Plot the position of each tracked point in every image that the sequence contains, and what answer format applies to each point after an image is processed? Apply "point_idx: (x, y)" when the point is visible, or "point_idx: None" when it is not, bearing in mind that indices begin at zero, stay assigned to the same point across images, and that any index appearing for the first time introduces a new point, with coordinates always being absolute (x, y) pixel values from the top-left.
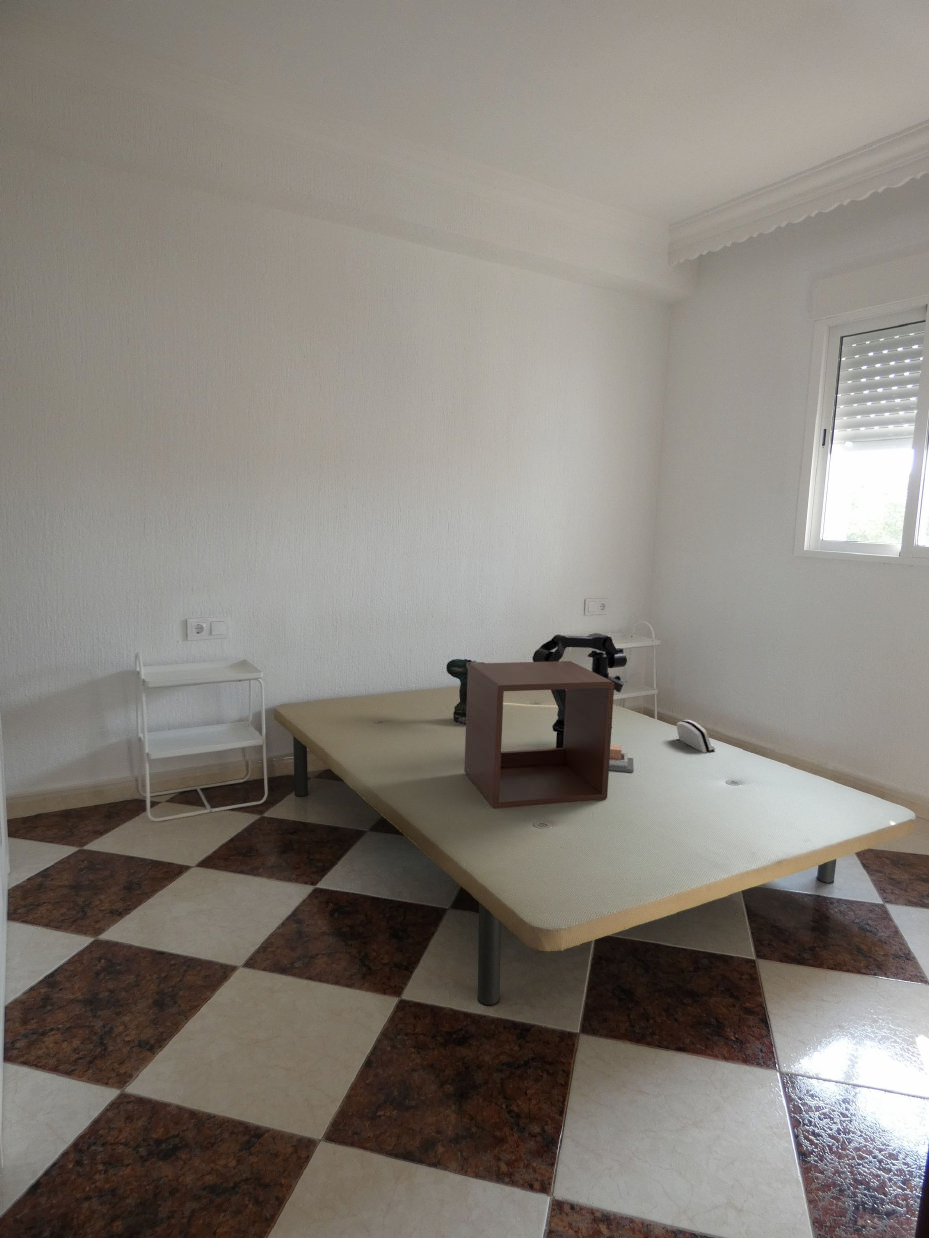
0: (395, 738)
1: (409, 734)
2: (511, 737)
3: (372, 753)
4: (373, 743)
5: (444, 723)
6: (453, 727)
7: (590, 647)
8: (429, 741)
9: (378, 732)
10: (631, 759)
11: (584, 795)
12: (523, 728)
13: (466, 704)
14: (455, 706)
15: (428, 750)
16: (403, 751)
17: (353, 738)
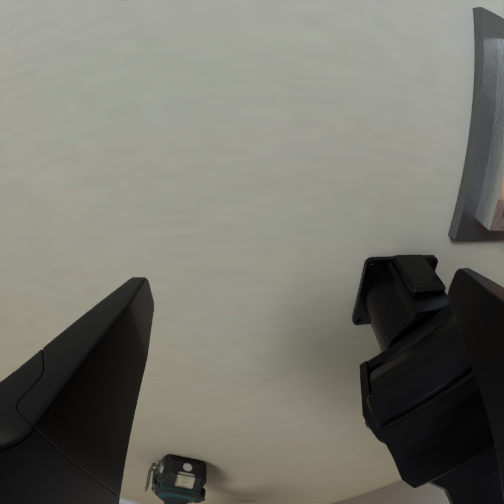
0: (323, 486)
1: (299, 485)
2: (267, 419)
3: (392, 474)
4: (350, 486)
5: (211, 478)
6: (231, 472)
7: None
8: (333, 471)
9: (298, 495)
10: (497, 21)
11: None
12: (158, 406)
13: (187, 502)
14: (196, 502)
15: (382, 459)
16: (385, 467)
17: (330, 495)
